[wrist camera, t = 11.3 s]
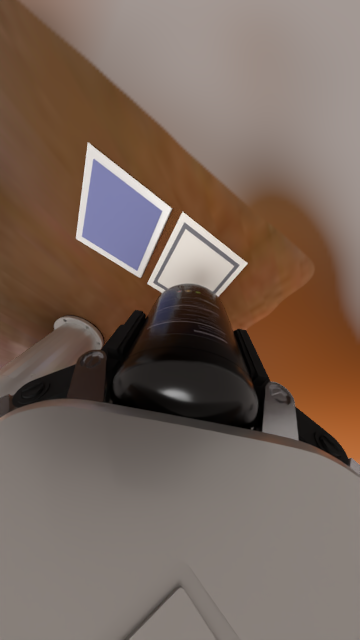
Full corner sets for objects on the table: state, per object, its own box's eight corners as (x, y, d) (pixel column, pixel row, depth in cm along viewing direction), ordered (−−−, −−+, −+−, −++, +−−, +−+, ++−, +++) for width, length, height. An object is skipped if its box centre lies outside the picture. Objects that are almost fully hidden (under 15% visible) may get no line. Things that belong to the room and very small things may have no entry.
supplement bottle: (219, 342, 15) (264, 571, 5) (158, 339, 15) (90, 534, 6) (231, 280, 11) (541, 747, 1) (149, 279, 12) (-117, 565, 2)
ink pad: (172, 208, 20) (171, 208, 19) (141, 276, 26) (139, 278, 25) (92, 145, 17) (86, 141, 16) (79, 238, 24) (75, 238, 23)
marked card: (247, 263, 23) (247, 263, 23) (200, 315, 30) (200, 316, 29) (182, 211, 20) (182, 211, 20) (147, 283, 27) (146, 283, 27)
